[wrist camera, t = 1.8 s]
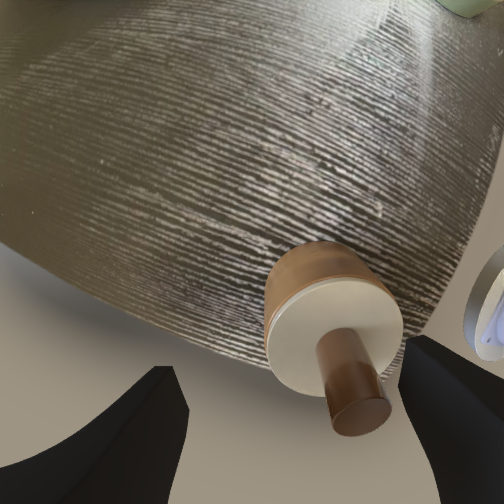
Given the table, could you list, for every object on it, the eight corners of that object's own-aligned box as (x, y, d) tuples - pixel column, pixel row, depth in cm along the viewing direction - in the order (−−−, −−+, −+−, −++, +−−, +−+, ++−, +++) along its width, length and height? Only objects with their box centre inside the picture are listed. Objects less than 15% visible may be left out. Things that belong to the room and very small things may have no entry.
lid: (420, 292, 12) (477, 351, 7) (365, 395, 14) (389, 464, 9) (290, 260, 12) (306, 325, 7) (251, 379, 14) (245, 459, 9)
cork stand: (383, 255, 17) (422, 291, 12) (346, 344, 19) (366, 397, 14) (281, 227, 17) (288, 257, 12) (253, 325, 19) (248, 380, 14)
